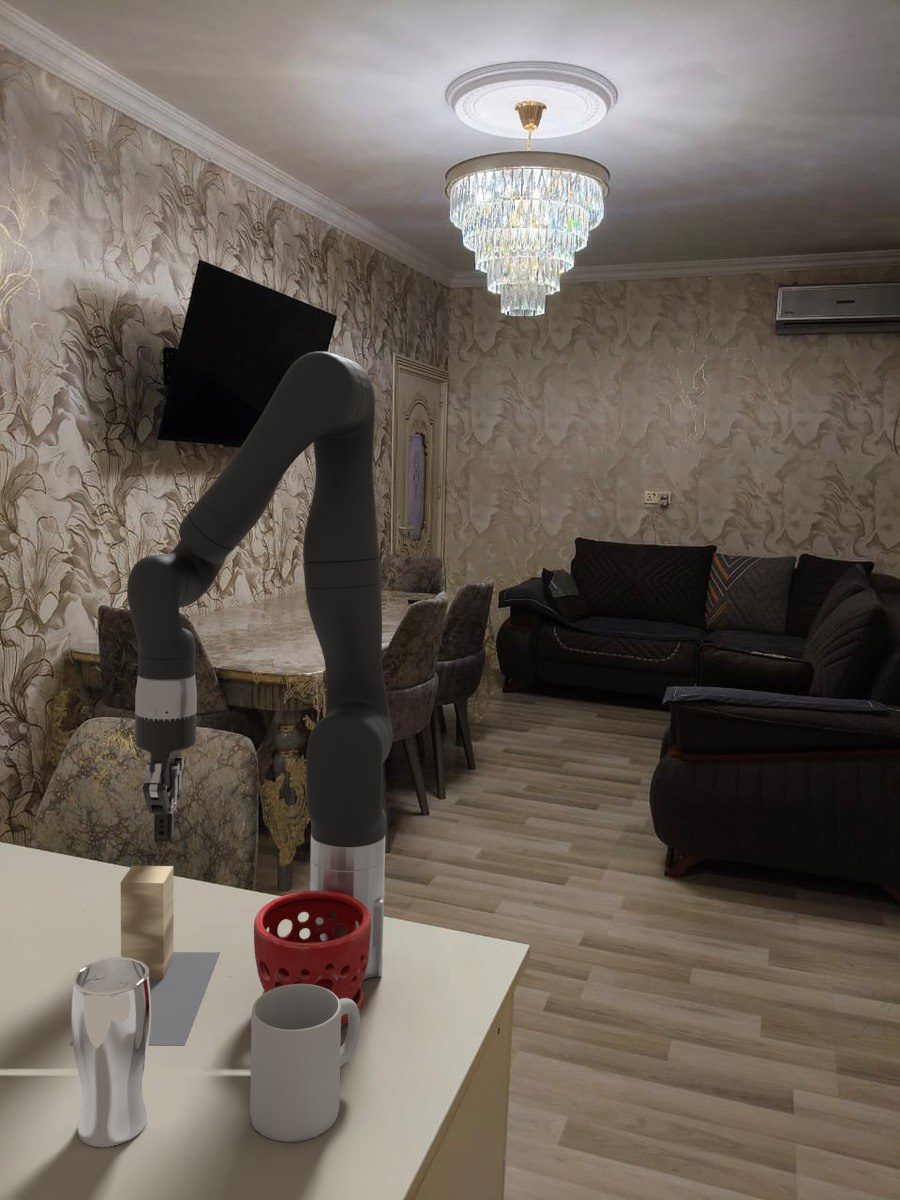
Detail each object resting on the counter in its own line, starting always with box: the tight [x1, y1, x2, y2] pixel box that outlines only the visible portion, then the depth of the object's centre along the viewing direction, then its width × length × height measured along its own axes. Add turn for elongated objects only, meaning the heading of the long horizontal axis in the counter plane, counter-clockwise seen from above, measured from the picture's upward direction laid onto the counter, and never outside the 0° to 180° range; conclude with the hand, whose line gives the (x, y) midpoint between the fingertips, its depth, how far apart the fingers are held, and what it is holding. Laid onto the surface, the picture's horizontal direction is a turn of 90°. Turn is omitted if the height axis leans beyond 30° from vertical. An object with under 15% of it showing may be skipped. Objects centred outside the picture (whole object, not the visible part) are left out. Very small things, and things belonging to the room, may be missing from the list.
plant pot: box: [253, 890, 371, 1027], centre depth 108 cm, size 13×13×12 cm
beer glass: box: [70, 956, 151, 1148], centre depth 88 cm, size 7×7×15 cm
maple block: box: [120, 865, 174, 979], centre depth 116 cm, size 5×5×12 cm
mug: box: [249, 984, 361, 1143], centre depth 92 cm, size 12×8×11 cm
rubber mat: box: [69, 951, 221, 1046], centre depth 111 cm, size 12×20×1 cm, turn 3°
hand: (164, 839), depth 124 cm, fingers closed
